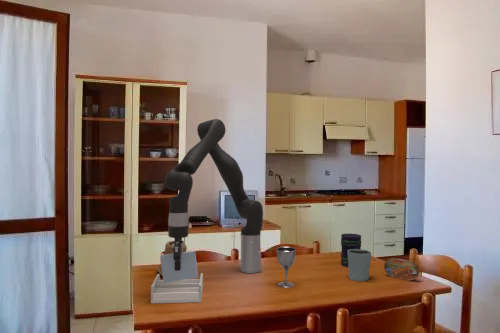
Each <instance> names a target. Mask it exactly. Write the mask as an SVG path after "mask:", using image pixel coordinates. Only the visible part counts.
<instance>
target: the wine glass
mask: <svg viewBox="0 0 500 333" xmlns="http://www.w3.org/2000/svg"><path fill="white" fill-rule="evenodd" d="M296 255H297V249H296V248H295V247H291V246H279V247H276V258H277V262H278V264H279V266H281V268H282V269H283V272H284V281H281V282H278V283H277V286H278V287H281V288H292V287H295V283H293V282H290V281H288V272H289V269H290V268H291V267H292V266H293V265H294V264H295V262H296V258H297V257H296Z"/></svg>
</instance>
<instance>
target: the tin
mask: <svg viewBox="0 0 500 333" xmlns="http://www.w3.org/2000/svg"><path fill="white" fill-rule="evenodd" d="M383 269H384V271H385V273H386V275H387V276H389V277H391V278H393V279H394V278H395V279H399V280H404V281H409V282H410V281H414V280H415V279H418V277H419V275H420V269H419V266H418V264H416V262H414V261H412V260H406V259H401V258H396V257H395V258H394V257H393V258H389V259H388V258H387V260H385V263H384V264H383Z"/></svg>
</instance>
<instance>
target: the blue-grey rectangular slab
mask: <svg viewBox="0 0 500 333" xmlns="http://www.w3.org/2000/svg"><path fill="white" fill-rule="evenodd" d="M176 257H179V256H176ZM159 258H160V265H161V267H162V275H163V276H162V275H161V276H162V280H163V283H165V282H172V281H179V280H187V279H199V271H198V264H197V256H196V250H189V251H188V250H186V252H182V254H181V269H180V271H175V261H174V259H173V258H174V256H173V254H161V255H160V257H159Z"/></svg>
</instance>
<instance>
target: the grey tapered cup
mask: <svg viewBox="0 0 500 333" xmlns="http://www.w3.org/2000/svg"><path fill="white" fill-rule="evenodd" d="M347 252H348V263H349V264H348V267H347V268H348V279H350V280H351V281H354V282H367V281H369V279H370V269H371V265H370V264H371V258H372V252H371V251H370V250H367V249H350V250H348V251H347Z"/></svg>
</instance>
